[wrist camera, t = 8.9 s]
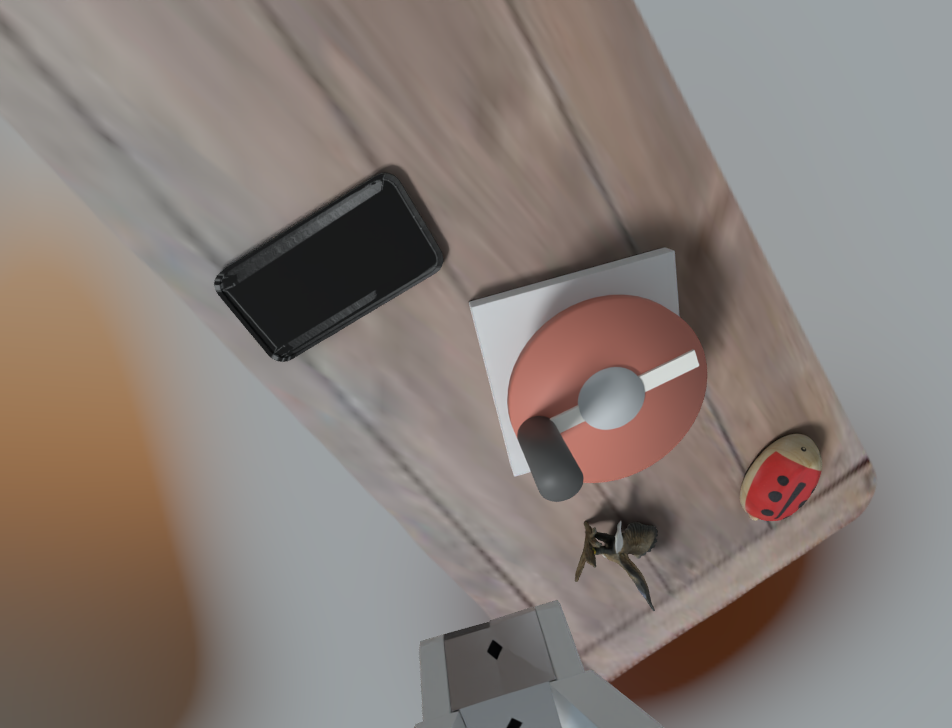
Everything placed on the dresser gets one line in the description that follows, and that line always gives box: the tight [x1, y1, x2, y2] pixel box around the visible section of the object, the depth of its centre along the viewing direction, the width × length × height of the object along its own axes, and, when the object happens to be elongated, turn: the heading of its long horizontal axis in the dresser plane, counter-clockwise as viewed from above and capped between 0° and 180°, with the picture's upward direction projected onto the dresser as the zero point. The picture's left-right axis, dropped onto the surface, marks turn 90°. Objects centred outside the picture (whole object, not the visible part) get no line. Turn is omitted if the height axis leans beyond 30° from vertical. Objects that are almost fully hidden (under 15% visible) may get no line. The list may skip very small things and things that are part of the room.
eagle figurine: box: [575, 521, 657, 611], centre depth 50 cm, size 8×7×9 cm
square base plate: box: [469, 247, 680, 476], centre depth 42 cm, size 16×16×4 cm
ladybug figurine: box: [740, 434, 822, 521], centre depth 51 cm, size 7×10×4 cm
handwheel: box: [507, 295, 707, 502], centre depth 36 cm, size 15×15×7 cm
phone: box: [214, 173, 443, 362], centre depth 38 cm, size 8×1×15 cm
